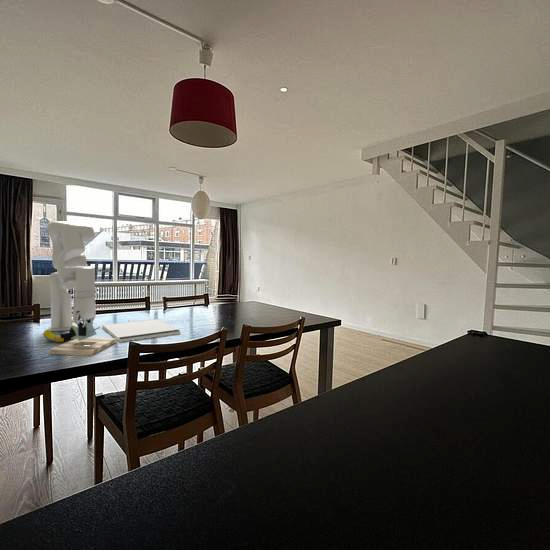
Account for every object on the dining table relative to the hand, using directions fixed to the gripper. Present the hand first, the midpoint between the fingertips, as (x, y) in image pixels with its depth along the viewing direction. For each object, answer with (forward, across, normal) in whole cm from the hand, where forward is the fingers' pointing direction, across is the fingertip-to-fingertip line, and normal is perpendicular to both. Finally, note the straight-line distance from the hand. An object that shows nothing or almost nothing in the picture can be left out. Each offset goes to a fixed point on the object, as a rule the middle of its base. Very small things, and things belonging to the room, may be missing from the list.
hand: (85, 334), depth 144 cm
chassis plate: (+6, 0, 0) cm, 6 cm away
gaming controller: (+7, -11, -18) cm, 22 cm away
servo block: (+2, 0, +1) cm, 2 cm away
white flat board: (+7, -34, +10) cm, 36 cm away
